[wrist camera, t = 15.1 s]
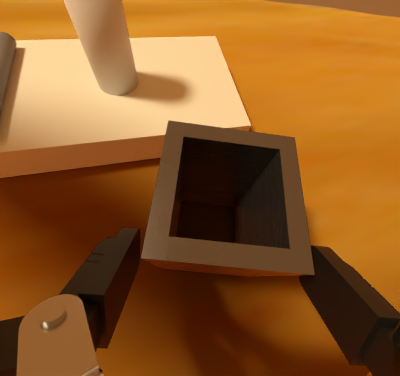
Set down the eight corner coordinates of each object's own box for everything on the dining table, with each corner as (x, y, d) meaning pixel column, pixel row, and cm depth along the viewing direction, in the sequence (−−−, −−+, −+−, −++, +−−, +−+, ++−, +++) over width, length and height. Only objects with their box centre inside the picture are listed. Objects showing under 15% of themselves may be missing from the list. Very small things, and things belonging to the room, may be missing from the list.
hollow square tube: (244, 276, 14) (314, 275, 7) (160, 268, 14) (140, 258, 7) (244, 198, 17) (294, 137, 9) (172, 190, 16) (168, 120, 9)
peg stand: (-2, 178, 15) (-265, 33, 6) (19, 73, 20) (-114, -98, 11) (240, 147, 19) (298, 26, 10) (210, 64, 23) (231, -71, 14)
